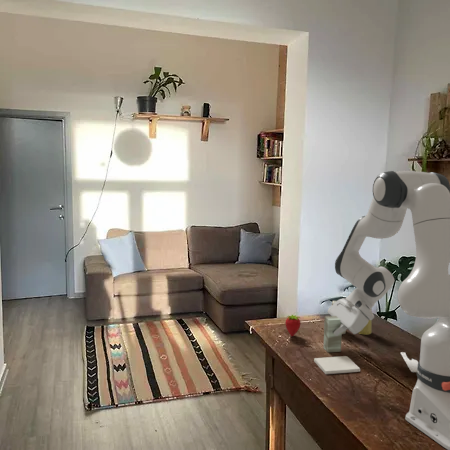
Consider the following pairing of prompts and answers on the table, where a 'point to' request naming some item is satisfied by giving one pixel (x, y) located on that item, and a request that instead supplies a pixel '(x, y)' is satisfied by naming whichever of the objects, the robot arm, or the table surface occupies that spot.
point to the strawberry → (292, 324)
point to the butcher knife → (410, 362)
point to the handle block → (330, 340)
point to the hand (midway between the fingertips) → (331, 331)
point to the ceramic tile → (336, 365)
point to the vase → (366, 328)
